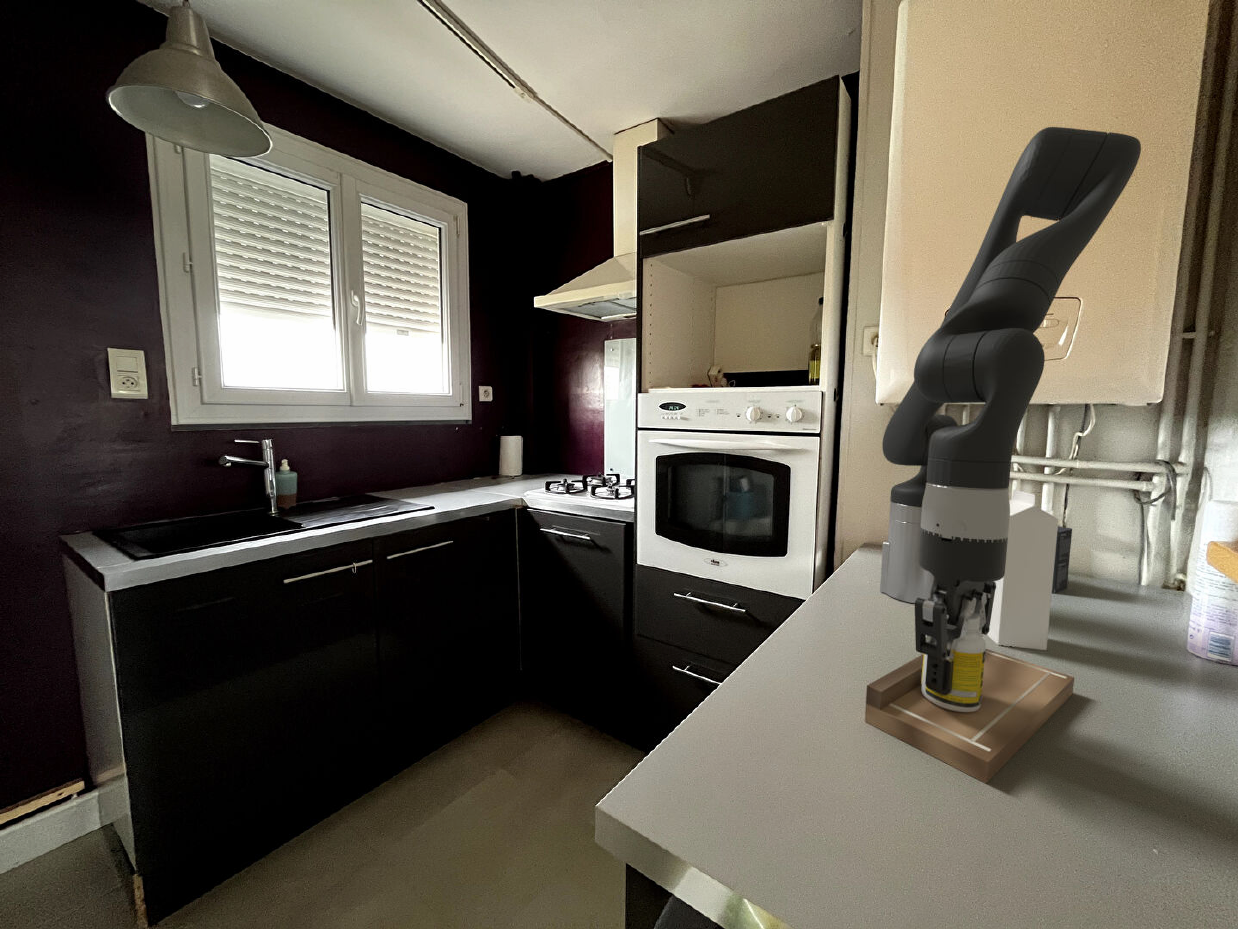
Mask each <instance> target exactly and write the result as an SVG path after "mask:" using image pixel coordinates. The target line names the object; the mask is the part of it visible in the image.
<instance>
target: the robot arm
mask: <svg viewBox="0 0 1238 929" xmlns="http://www.w3.org/2000/svg"><path fill="white" fill-rule="evenodd" d="M1141 152H1142V144H1141V141H1140V140H1139V139H1138V138H1137V137H1135V136H1132V135H1128V134H1125V133H1121V132H1119V133H1118V132H1112V131H1111V132H1110V131H1109V132H1107V131H1099V130H1098V131H1097V130H1090V129H1082V128H1081V129H1080V128H1074V127H1073V128H1072V127H1059V126H1057V127H1056V126H1048V127H1044V128H1043V129H1041V130H1039V131H1038V132H1037V133H1035V135H1034V136H1032V138H1031V139H1030V141H1029V142H1028V143H1027V145H1026V146H1025V148H1024V150H1023V151H1022V153H1021V154H1020V157H1019V159H1018V160H1017V162H1016V164H1015V166H1014V168H1013V171H1012V173H1011V175H1010V176H1009V179H1008V182H1007V184H1006V186H1005V188H1004V191H1003V192H1002V196H1001V198H1000V200H999V203H998V205H997V208H996V210H995V212H994V215H993V217H992V218H991V221H990V224H989V225H988V229H987V231H986V233H985V235H984V238H983V240H982V243H981V245H980V248H979V249H978V252H977V254H976V257H975V259H974V261H973V262H972V265H971V267H970V268H969V271H968V273H967V275H966V277H965V279H964V281H963V282H962V284H961V286H960V288H959V290H958V292H957V294H956V296H955V297H954V299H953V301H952V303H951V305H950V307H949V308H948V311H947V313H946V315H945V317H944V318H943V320H942V322H941V325H940V327H939V328H938V329H937V330H935V332H934V333H933V334H932V335H931V336H930V337H929V338H928V339H927V340H926V342H925V343H924V345H923V346H922V347H921V349H920V351H919V353H918V356H917V358H916V361H915V363H914V369H913V382H912V384H911V386H910V387H909V389H908V391H907V392H906V394H905V395H904V397H903V398H902V400H901V402H900V403H899V405H898V406H897V408H896V409H895V411H894V413H893V414H892V416H891V417H890V419H889V422H888V424H886V427H885V430H884V434H883V437H882V443H881V444H882V453H883V456H884V458H885V459H886V460H887V461H888V462H889V463H891V464H892V465H893V464H894V465H899V466H905V467H906V466H907V467H909V466H910V467H911V466H914V467H915V466H917V467H920V468H919V471H918V473H917V474H916V475H915V476H913V477H912V478H910V479H908V480H905V481H903V482H900V483H897V484H895V485H894V486H892V487H891V489H890V497H889V498H890V499H889V500H890V501H889V502H890V504H889V516H888V517H889V518H888V538H887V540H885V541H883V542H882V550H881V551H882V552H881V554H882V555H881V568H880V569H881V570H880V582H879V583H880V584H879V585H880V586H879V592H880V593H884V594H886V595H887V596H889V597H891V598H893V599H896V600H898V601H903V602H907V603H909V604H910V603H911V604H914V635H915V636H914V637H915V651H916V652H917V653H920V654H926V655H927V667H926V681H925V684H926V687H927V688H928V689H930V690H932V691H935V692H937V693H939V694H942V695H948V694H949V693H951V691H952V678H953V665H954V660H953V659H954V657H955V652H956V647H957V643H958V641H962V640H964V638H965V635H966V631H967V627H968V623H969V618H970V615H972V614H973V613H974V612H975V613H977V614H978V615H979V616H980V627H979V630H978V631H977V632H976V633H978V634H979V635H980V636H981V637H982V638H983V635H984V636H987V634H988V632H989V630H990V628H989V627H990V621H991V614H992V608H993V602H994V595H995V590H996V582H994V581H998V580H1000V579H1002V578H1003V577H1004V575H1005V565H1006V554H1007V543H1008V531H1009V520H1010V502H1009V500H1010V479H1011V469H1012V468H1011V467H1012V460H1013V450H1014V445H1015V441H1016V438H1017V435H1018V432H1019V430H1020V428H1021V424H1022V421H1023V419H1024V416H1025V413H1026V411H1027V410H1028V406H1029V405H1030V402H1031V400H1032V398H1033V396H1034V394H1035V391H1036V389H1037V388H1038V385H1039V383H1040V381H1041V378H1042V375H1043V372H1044V368H1045V360H1046V359H1045V358H1046V357H1045V350H1044V348H1043V344H1042V343H1041V341H1040V340H1039V338H1038V337H1037V336H1036V335H1035V334H1034V333H1036V332H1037V330H1038V329H1039V328H1040V326H1041V325H1042V324H1043V322H1044V320H1045V319H1046V316H1047V314H1048V312H1049V310H1050V308H1051V306H1052V304H1053V301H1054V299H1055V297H1056V295H1057V293H1058V291H1059V288H1060V286H1061V284H1062V283H1063V281H1064V280H1065V277H1066V275H1067V273H1068V272H1069V270H1070V269H1071V268H1072V266H1073V265H1074V263H1075V262H1076V260H1077V259H1078V257H1079V256H1080V255H1081V254H1082V252H1083V251H1084V250H1085V248H1086V247H1087V246H1088V245H1089V243H1090V241H1092V239H1093V237H1095V235H1096V233H1097V232H1098V230H1099V229H1100V227H1101V225H1102V224H1103V222H1104V221H1105V220H1106V219H1107V218H1106V217H1108V216H1109V213H1110V212H1111V211H1112V208H1114V206H1115V204H1116V203H1117V201H1118V199H1119V198H1120V196H1121V195H1122V193H1123V191H1124V189H1125V188H1126V186H1127V185H1128V182H1129V181H1130V179H1131V177H1132V176H1133V174H1134V172H1135V169H1136V167H1137V164H1138V162H1139V160H1140V157H1141ZM1022 217H1031V218H1036V219H1043V220H1048V221H1054V223H1052V224H1050V225H1048V226H1046V227H1044V228H1042V229H1040V230H1038V231H1036V232H1034V233H1032V234H1029V235H1027V236H1026V237H1023V238H1022V239H1019V240H1018V239H1017V238H1018V232H1019V227H1020V223H1021V219H1022ZM1017 240H1018V241H1017ZM965 403H966V404H971V403H973V404H981V403H982V404H983V403H984V406H983V407H982V410H981V411H980V413H979V414H978V415H977V417H976V418H975V419H974V420H972V421H970V422H969V423H964V424H959V425H958V423H957V420H956V419H955V418H953V416H950V415H949V414H948V415H947V414H937V412H938V411H939V409H940V408H942V406H943V405H944V404H965ZM947 624H949V625H952V626H957V627H956V628H955V629H948V628H947ZM926 635H927V636H926ZM947 637H948V642H947ZM935 640H936V644H935Z"/></svg>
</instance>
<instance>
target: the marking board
mask: <svg viewBox="0 0 1238 929" xmlns="http://www.w3.org/2000/svg"><path fill="white" fill-rule="evenodd" d="M985 651H986V653H985V662H984V673H983V685H982V698H981V705H980V708H979V709H978V710H977V711H974V712H957V711H952V710H948V709H945V708H942V707H940V706H938V705H936V704H934V703H932V702H931V701H929V700H928V699H927V698H926V697H925V696H924V695H923V694H922V692H921V679H922V667H923V655H924V654H923V653H921V655H918V656H917V657H915V658H913V659H912V660H910V661H908V662H906V663H905V664H903V665H901V666H899V667H897V668H896V669H894V670H892V671H891V672H888V673H887V674H885V675H883V676H881V677H879V678H878V679H876V680H874V681H873V682H870V683H869V684H867V685H866V694H865V712H864V722H865V723H867V724H869V725H871V726H873V727H875V728H877V729H879V730H881V731H883V732H884V733H886V734H888V735H891V736H892V737H894V738H897V739H898V740H900V741H903V742H904V743H906V744H908V745H910V746H913V747H914V748H916V749H918V750H920V751H922V752H924V753H926V754H927V755H929V756H932V757H933V758H936V759H937V760H939V761H941V762H943V763H946V764H947V765H949V766H951V767H953V768H955V769H957V770H959V771H961V772H963V773H965V774H966V775H969V776H971V777H973V778H975V779H977V780H979V781H980V782H982V783H985V784H988V783H989V782H990V780H991V779H993V778H994V777H995V775H996V774H997V773H998V772H999V771H1000V770H1001V769H1002V768H1003V767H1004V766H1006V764H1007V763H1008V762H1009V761H1010V760H1011V759H1012V757H1013V756H1015V754H1016V753H1017V752H1019V750H1021V749H1022V747H1023V746H1024V745H1025V744H1026V743H1027V742H1028V741H1029V740H1030V739H1032V737H1033V736H1034V735H1035V734H1036V732H1037V731H1038V730H1039V729H1040V728H1041V727H1042V726H1043V725H1044V724H1046V723H1047V722H1048V720H1049V719H1050V718H1051V717H1052V716H1053V715H1054V713H1056V712H1057V710H1059V709H1060V707H1062V706H1063V704H1065V703H1066V702H1067V701H1068V699H1069V698H1070V697H1071V696H1072V695H1073V694H1074V687H1075V686H1074V685H1075V677H1074V676H1071V675H1068V674H1065V673H1062V672H1059V671H1056V670H1053V669H1050V668H1046V667H1044V666H1043V667H1042V666H1040V665H1037V664H1034V663H1032V662H1031V663H1030V662H1028V661H1025V660H1022V659H1019V658H1016V657H1014V656H1013V657H1012V656H1009V655H1006V654H1003V653H1000V652H998V651H994V650H991V649H989V648H986V650H985Z"/></svg>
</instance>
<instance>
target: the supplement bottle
mask: <svg viewBox="0 0 1238 929" xmlns="http://www.w3.org/2000/svg"><path fill="white" fill-rule="evenodd" d="M956 627H957V626H952V625H949V624H947V628H948V629H955V628H956ZM979 627H980V616H979V615H978V614H977V613H975V612H974V613H973V614H972V615H970V618H969V623H968V627H967V631H966V635H965V638H964V640H962V641H958V643H957V647H956V652H955V657H954V659H953V660H954V665H953V678H952V691H951V693H949V694H948V695H942V694H939V693H937V692H935V691H932V690H930V689H928V688H927V687H926V684H925V681H926V667H927V655H926V654H924V655H923V667H922V679H921V692H922V694H923V695H924V696H925V697H926V698H927V699H928V700H929V701H931V702H932V703H934V704H936V705H938V706H940V707H942V708H945V709H948V710H952V711H957V712H974V711H977V710H978V709H979V708H980V705H981V698H982V685H983V673H984V662H985V653H986V651H985V650H986V649H987V648H986V647H987V646H986V644H987V643H986V642H985V640H984V638H983V636H982V637H981V636H980V635H979V634H978V633H976V632H977V631H978V630H979ZM926 636H927V635H926ZM947 642H948V637H947ZM935 644H936V640H935Z"/></svg>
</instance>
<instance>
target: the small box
mask: <svg viewBox="0 0 1238 929" xmlns="http://www.w3.org/2000/svg"><path fill="white" fill-rule="evenodd" d="M1072 536H1073V528H1072V527H1071V528H1070V527H1066V526H1059V525H1058V530H1057V540H1056V551H1055V562H1054V573H1053V584H1052V593H1054V594H1055V593H1057V592H1059V591H1063V590H1065V589H1067V588H1068V581H1069V566H1070V558H1071V549H1072V548H1071V547H1072V546H1071V545H1072Z"/></svg>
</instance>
